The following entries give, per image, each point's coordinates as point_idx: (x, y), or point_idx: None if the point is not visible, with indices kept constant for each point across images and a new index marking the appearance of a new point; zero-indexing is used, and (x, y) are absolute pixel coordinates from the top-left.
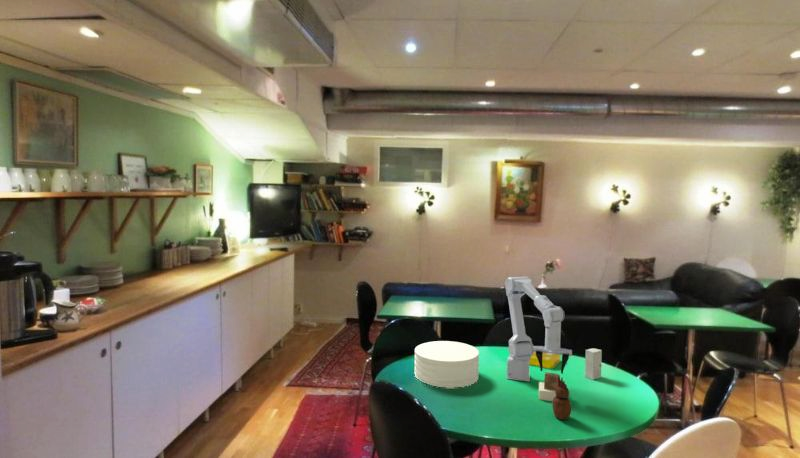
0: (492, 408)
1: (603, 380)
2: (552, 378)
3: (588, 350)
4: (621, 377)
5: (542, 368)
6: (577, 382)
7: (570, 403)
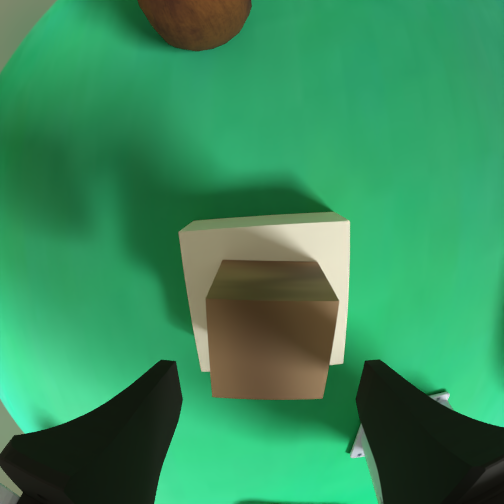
0: (496, 61)
1: None
2: (260, 295)
3: None
4: None
5: (364, 394)
6: None
7: None
